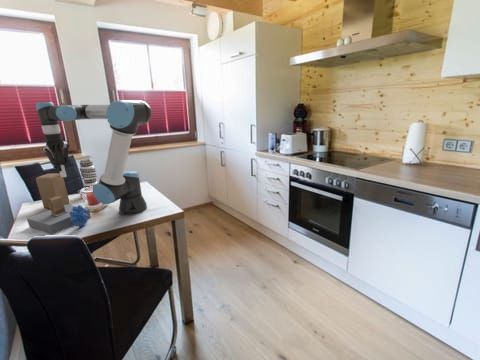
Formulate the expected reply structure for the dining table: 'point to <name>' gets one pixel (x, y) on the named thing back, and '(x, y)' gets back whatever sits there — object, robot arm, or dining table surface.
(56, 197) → the walnut peg
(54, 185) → the wooden block
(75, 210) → the grapes
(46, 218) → the seat block
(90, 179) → the decorative candle
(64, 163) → the robot arm
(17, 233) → the dining table surface
